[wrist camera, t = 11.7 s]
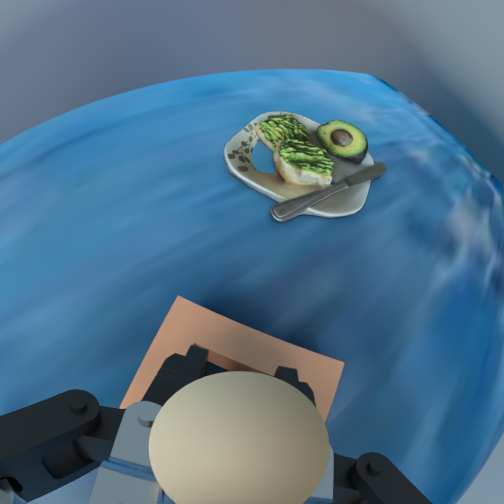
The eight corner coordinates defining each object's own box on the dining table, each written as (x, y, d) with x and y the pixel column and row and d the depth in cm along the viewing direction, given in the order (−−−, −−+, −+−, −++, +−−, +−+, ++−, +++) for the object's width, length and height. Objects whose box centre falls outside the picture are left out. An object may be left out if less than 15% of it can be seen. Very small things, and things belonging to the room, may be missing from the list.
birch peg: (188, 428, 13) (117, 484, 3) (209, 382, 14) (189, 335, 4) (239, 448, 12) (293, 542, 2) (259, 402, 14) (357, 397, 4)
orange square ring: (128, 438, 13) (100, 448, 9) (186, 321, 19) (177, 295, 15) (264, 494, 12) (280, 520, 8) (315, 373, 18) (344, 362, 14)
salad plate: (350, 274, 23) (374, 246, 19) (184, 185, 26) (182, 149, 22) (384, 167, 33) (398, 142, 29) (271, 113, 36) (276, 86, 32)
